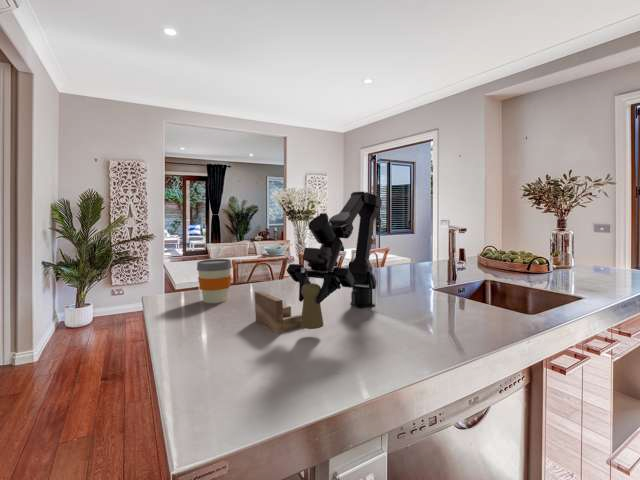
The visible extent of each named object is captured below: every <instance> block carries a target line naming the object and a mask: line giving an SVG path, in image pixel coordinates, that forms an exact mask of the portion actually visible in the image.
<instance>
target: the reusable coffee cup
mask: <svg viewBox="0 0 640 480" xmlns="http://www.w3.org/2000/svg"><path fill="white" fill-rule="evenodd" d="M231 269H232V261H231V259H230V258H229V259H227V258H212V259H204V260H199V261H197V263H196V270H197V272H198V277H197V278H198V284H199V289H200V290H201V293H202V298H203V303H205V304H220V303H221V304H222V303H225V302H226V301H229V292H230V288H231V283H232V274H231V272H232V271H231Z"/></svg>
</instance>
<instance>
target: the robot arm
mask: <svg viewBox="0 0 640 480" xmlns="http://www.w3.org/2000/svg"><path fill="white" fill-rule="evenodd" d="M382 205H383V204H382V198H381V197H380V196H378V194H373V193H369V192H367V191H365V190H358V191H357V190H356V191H353V192H351V194H350V197H349V199H348V200H347V202H346V203H345V205H344V206H343V208H341V211H340V212H339V213H337V214H334V215H333V216H331V217H330V218H329V216H328V213H326V212H324V213H319V215H318V216H316V217H314V218H312V219H311V220H310V221H309V223H308V229H309V231H310V233H311V234H312V236H313V237H314V239H315V240H316V242H317V243H318V244H321V245H320V248H315V247H304V250H303V252H302V253H303V254H302V258H301V259H302V260H303V261H305V262H307V266H308V267H309V268H311V269H308V268H305V267H304V265H303V264H300V263H289V265H288V266H287V268H286V272H287V274H288V275H289V276H290V278H291V279H292V280H293V281H294V282H295V283H299V286H298V287H299V291H298V301H299V302H301V303H303V299H304V297H303V295H302V293H301V290H302V287H303V286H304V285H306V284H312V282H311V281H310V279H311V278H312V279H313V278H314V279H323V282H322V285H321V286H320V287H321V290H320V292H319V295H318V297H317V301H316V303H317V304H320V305H321V303H322V302H323V301H324V300H325V299H327V298H328V297H329V296H330V295H331V294H333V293H334V292H336V290H340V289H341V288H342V287H343V288H350V289H351V288H352V289H351V293H350V294H351V296H350V297H351V298H350V299H351V301H350V305H352V306H354V307H356V308H358V309H359V308H360V309H361V308H366V307H367V308H368V307H373V306H376V303H374V302H373V290H376V289H377V279H376V277H375V275H374V273H373V266H372V264H371V262H370V254H371V253H370V252H371V245H372V236H373V231H374V230H373V229H374V221H375V220H376V218H377V217H378V216H379V214H380V210H381V208H382ZM357 215H358V217H359V225H358V233H357V238H356V239H357V240H356V241H357V242H356V248H355V255H354V259H353V260H352V261H349V263H348V267H344V266H343V267H342V266H338V265H339V262H338V261H337V260H338V258H339V255H340V253H341V252H345V247H344V243H343V241H342V239H349V238H350V237H351V235H352V233H353V230H354V225H353V223H354V221H355V219H356V217H357Z"/></svg>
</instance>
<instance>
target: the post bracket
mask: <svg viewBox="0 0 640 480" xmlns="http://www.w3.org/2000/svg"><path fill="white" fill-rule="evenodd" d="M254 303H255V304H254V306H255V307H254V308H255V309H254V310H255V321H256V322H257V323H259V324H261V325H262V326H263V327H265V328H267V329H269V330H270V331H271V332H273V333H274V334H281V333H284V331H287V330H290V329H295V328H298V327H301V319H302V313H301V314H296V315H293V316H292V306H291V305H287V306H284V304H283V299H281V298H279V297H277V296H275V295H271V294H269V293H268V292H265V291H262V290H258V291H257V290H256V291H254Z"/></svg>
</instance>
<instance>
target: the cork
mask: <svg viewBox="0 0 640 480" xmlns="http://www.w3.org/2000/svg"><path fill="white" fill-rule="evenodd" d="M321 287H322V286H320V285H319V284H318V283H311V284H306V285H304V286H303V287H302V290H301V293H302V295H303V297H304V299H303V301H302V309H301V310H302V311H301V314H302V319H301V326H300V327H301V328H302V329H307V330H317V329H320V328H322V327H324V319H323V312H322V307H321V306H322V305H321V303H320V304H317V303H316V301H317V297H318V295H319V292H320V290H321Z"/></svg>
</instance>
